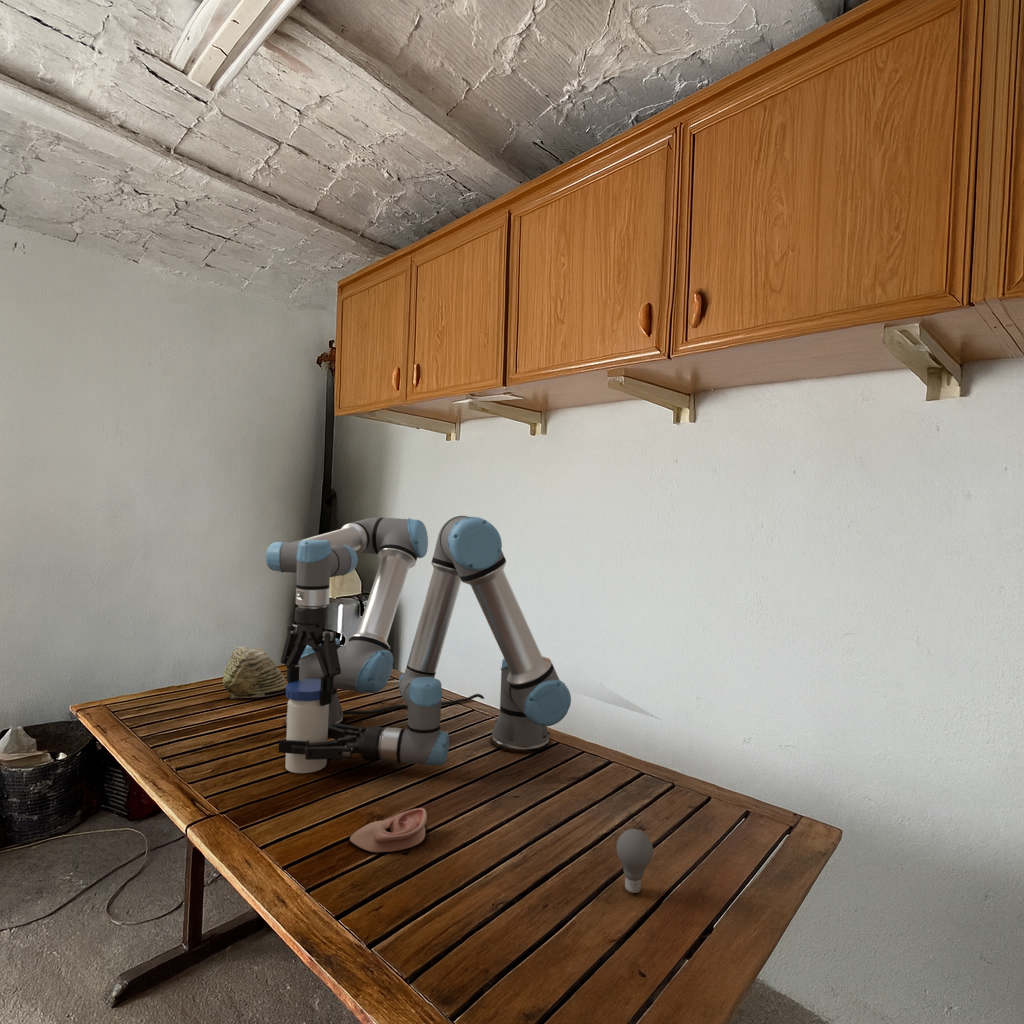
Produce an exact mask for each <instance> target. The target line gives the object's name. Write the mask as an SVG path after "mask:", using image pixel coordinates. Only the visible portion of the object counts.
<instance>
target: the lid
mask: <svg viewBox="0 0 1024 1024" xmlns="http://www.w3.org/2000/svg"><path fill="white" fill-rule="evenodd" d="M320 691H321V679H302V680H297V681H293V682H290V683H288V682H287V683H286V690H285V698H287V699H288V700H289V699H291V700H296V701H315V700H320ZM332 692H333V690H332Z"/></svg>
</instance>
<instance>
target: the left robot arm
mask: <svg viewBox="0 0 1024 1024" xmlns="http://www.w3.org/2000/svg"><path fill="white" fill-rule="evenodd" d="M428 549H429V536H428V531H427V528H426V525H425V523H424V522H423V521H422V520H420V519H413V518H410V517H409V518H396V517H380V516H377V517H369V518H364V519H360V520H357V521H353V522H348V523H346V524H343V526H342V527H341V528H340V529H336V530H333V531H329V532H325V533H322V534H318V535H314V536H310V537H307V538H304V539H303V538H302V539H300V540H295V541H292V542H291V541H290V542H285V541H275V542H273V543H271V544H270V545H269V546H268V547H267V549H266V553H265V563H266V566H267V567H268V569H269V570H271V571H274V572H280V573H291V574H296V584H295V588H296V589H295V605H297V606H296V607H295V609H294V622H295V623H294V624H290V625H288V626H287V635H286V638H285V642H284V647H283V650H282V654H281V658H280V664H282V665H285V667H286V681H287V684H288V683H290V682H293V681H297V680H302V679H321V691H320V706H324V705H327V704H329V716H328V725H330V723H338V724H343V722H344V715H345V716H347V715H372V714H373V715H374V714H378V713H382V712H385V711H391V710H395V709H406V708H407V709H408V707H407V705H406V704H396V705H389V706H385V707H381V708H378V709H371V710H343V709H342V706H341V702H340V699H339V695H338V690H342V691H350V692H358V693H360V694H366V693H367V694H376V693H379V692H380V691H381V690H383V689H384V687H385V686H386V685H387V684H388V682H389V680H390V678H391V675H392V673H393V670H394V665H393V664H394V656H393V653H392V652H391V646H390V645H389V643H388V638H389V636H390V632H391V628H392V626H393V622H394V619H395V615H396V612H397V608H398V606H399V603H400V599H401V595H402V592H403V590H404V586H405V582H406V579H407V577H408V574H409V573H408V572H409V569H412V568H414V567H415V566H416V563H417V560H418V559H422V558H424V557H426V555H427V552H428ZM359 554H368V555H369V554H370V555H377V556H378V558H379V560H380V563H379V566H378V569H377V571H376V575H375V578H374V581H373V584H372V587H371V590H370V592H369V596H368V599H367V602H366V604H365V607H364V611H363V613H362V617H361V620H360V623H359V626H358V629H357V632H356V633H354V634H352V635H350V636H349V638H348V641H347V644H346V645H341V641H340V639H339V638H337V633H336V631H328V630H327V627H326V624H327V623H328V621H329V617H330V616H329V615H330V614H329V612H330V608H329V606H328V605H330V583H331V582H330V581H331V578H334V577H339V576H341V577H342V576H343V577H344V576H346V575H348V574H350V573H352V572H354V570H355V569H356V568H357V566H358V562H359V559H358V555H359ZM332 690H333V692H332ZM464 698H465V699H464ZM464 698H459V699H454V700H449V701H448V700H447V701H441V706H448V705H449V706H450V705H454V704H459V703H465V702H468V701H471V700H473V699H475V698H480V699H482V700H484V699H485V697H484V695H483V694H481V693H475V694H473V695H472V694H471V696H468V697H464ZM285 726H286V727H287V714H286V715H285Z"/></svg>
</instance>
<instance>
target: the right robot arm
mask: <svg viewBox="0 0 1024 1024" xmlns="http://www.w3.org/2000/svg"><path fill="white" fill-rule="evenodd" d="M437 535H438V536H437V539H436V543H435V547H434V551H433V556H432V559H431V565H432V567H433V570H432V574H431V578H430V581H429V585H428V588H427V592H426V595H425V598H424V603H423V607H422V609H421V612H420V617H419V620H418V624H417V626H416V627H417V628H416V632H415V635H414V638H413V642H412V646H411V649H410V653H409V656H408V660H407V664H406V667H405V670H404V672H403V673H402V674H401V675H400V676H399V679H398V690H399V691H398V692H399V693H400V696H401V697H402V699H403V700H404V702H405V705H407V707H408V708H407V711H408V712H407V728H400V727H390V726H389V727H388V726H387V727H385V728H384V727H382V726H368V727H367V726H356V725H350V724H345V723H341V724H338V723H330V725H328V739H332V740H329V741H327V742H318V743H309V740H308V741H294V740H286V739H279V740H278V753H280V754H286V753H291V754H305V759H306V760H315V759H327V760H346V761H349V760H351V758H352V757H351V756H352V755H355V754H360V755H361V757H362V760H364V761H366V762H379V761H381V762H383V763H384V762H385V763H391V764H392V765H396V764H397V763H398V764H410V765H421V766H426V767H427V766H442V765H444V764H446V762H447V760H448V757H449V752H450V751H449V750H450V734H449V732H448V731H444V730H441V718H442V717H441V714H442V705H441V702H442V699H443V693H442V682H441V681H440V679H438V678H435V677H436V673H437V669H438V665H439V662H440V658H441V655H442V652H443V648H444V645H445V640H446V637H447V635H448V629H449V627H450V623H451V619H452V615H453V612H454V608H455V605H456V602H457V598H458V595H459V591H460V587H461V584H462V583H463V584H466V585H469V586H470V587H471V589H472V591H473V594H474V596H475V598H476V600H477V602H478V605H479V607H480V609H481V612H482V614H483V615H484V617H485V620H486V623H487V624H488V626H489V629H490V630H491V632H492V635H493V637H494V639H495V641H496V643H497V646H498V648H499V650H500V652H501V654H502V656H503V658H502V660H501V668H500V672H501V673H500V693H499V697H500V699H499V702H500V703H499V712H498V715H497V719H495V721H494V727H493V729H492V732H491V743H492V745H494V746H495V747H496V748H498V749H500V750H503V751H506V752H511V753H519V754H520V753H521V754H526V753H529V754H530V753H537V752H540V751H542V750H545V749H546V748H548V746H549V744H550V735H551V732H550V731H549V730H548V727H552V726H554V725H556V724H558V723H560V722H561V721H562V720H563V719H564V718H565V717H566V716H567V714H568V712H569V709H570V707H571V703H572V695H571V692H570V690H569V688H568V686H567V685H566V683H565V682H563V681H562V680H561V679H560V678H559V675H558V673H557V670H556V669H555V667H554V664H553V662H552V660H551V658H550V657H547V656H544V655H542V653H541V651H540V649H539V646H538V644H537V642H536V639H535V637H534V635H533V633H532V631H531V629H530V626H529V624H528V622H527V619H526V617H525V615H524V613H523V611H522V608H521V606H520V604H519V601H518V599H517V598H516V595H515V593H514V591H513V588H512V586H511V583H510V581H509V579H508V576H507V575H506V573H505V570H504V569H505V566H506V564H507V559H506V557H505V554H504V552H503V550H502V547H503V541H502V537H501V535H500V533H499V531H498V529H497V528H496V527H495V526H494V525H493V524H492V523H491V522H490V521H488V520H486V519H484V518H482V517H478V516H467V515H457V516H454V517H451V518H450V519H448V520H447V521H446V522H445V523H444V524H443V525H442V526H441V528H440V530H439V533H438V534H437Z"/></svg>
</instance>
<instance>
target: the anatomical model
mask: <svg viewBox="0 0 1024 1024" xmlns="http://www.w3.org/2000/svg"><path fill="white" fill-rule="evenodd" d="M427 814H428V813H427V811H426V809H425V808H424V807H417V808H412V809H409V810H406V811H403V812H401V813H397V814H396V815H393V816H390V817H388V818H386V819H384V820H377V821H373V822H370V823H368V824H365V825H364V826H362V827H360V828H359V829H358V830H355V832H353V834H351V835H350V837H349V841H350V842H351V843H352V844H353V845H355V846H356V847H358V848H360V849H362V850H365V851H366V852H370V853H386V852H387V853H388V852H389V853H390V852H396V851H403V850H406V849H409V848H412V847H415V846H417V845H419V844H421V843H422V842H423V841H424V840H425V837H426V827H425V826H426V824H427V820H428V819H427V817H428V815H427Z"/></svg>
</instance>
